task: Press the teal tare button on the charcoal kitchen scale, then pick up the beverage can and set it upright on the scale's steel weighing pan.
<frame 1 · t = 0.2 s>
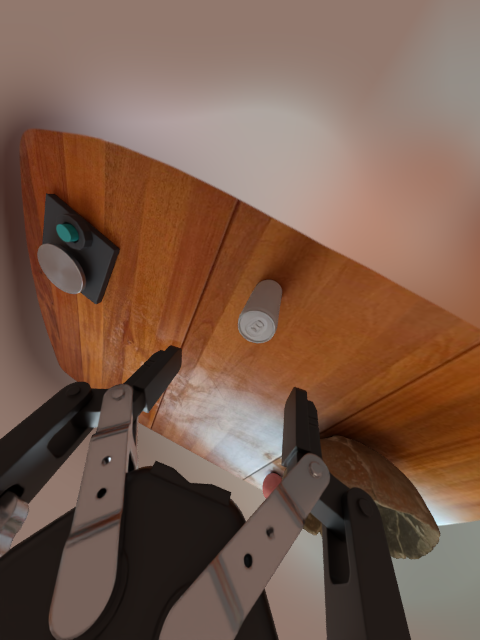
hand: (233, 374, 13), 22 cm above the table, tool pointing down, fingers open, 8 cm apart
tare button: (68, 232, 32), point 3 cm above the table, slide at 0.1 cm
apple: (275, 473, 64), on the table
scale: (81, 255, 38), on the table
scale pan: (78, 265, 40), resting on scale
bowl: (335, 445, 48), on the table
beverage can: (268, 291, 32), on the table
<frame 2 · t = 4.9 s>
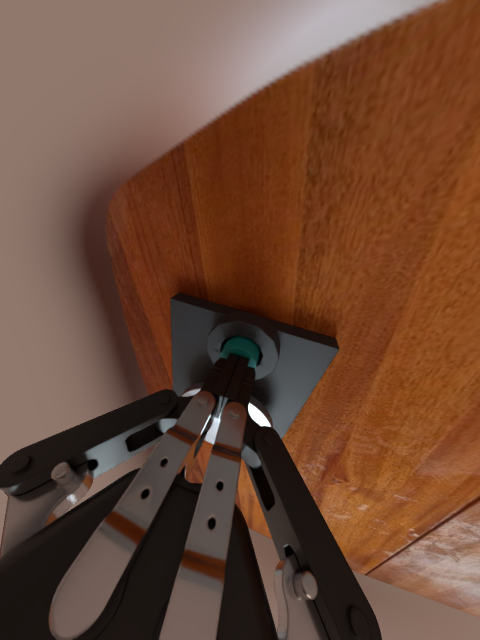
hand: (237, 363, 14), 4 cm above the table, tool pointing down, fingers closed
tare button: (240, 355, 14), point 3 cm above the table, slide at 0.0 cm, touching gripper
scale: (237, 375, 20), on the table
scale pan: (233, 392, 22), resting on scale
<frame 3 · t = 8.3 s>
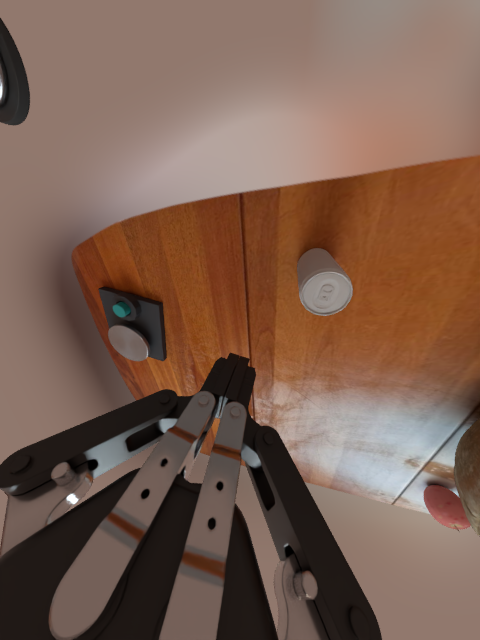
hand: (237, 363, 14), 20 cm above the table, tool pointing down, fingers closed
tare button: (121, 309, 37), point 3 cm above the table, slide at 0.1 cm
apple: (434, 485, 47), on the table
scale: (137, 324, 43), on the table
scale pan: (139, 334, 45), resting on scale
beverage can: (313, 263, 28), on the table
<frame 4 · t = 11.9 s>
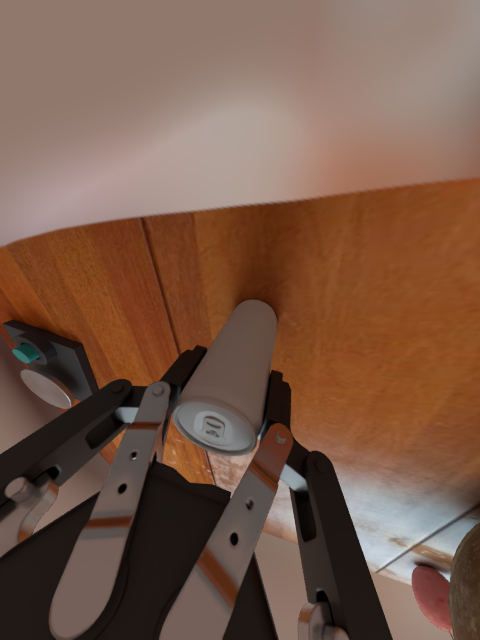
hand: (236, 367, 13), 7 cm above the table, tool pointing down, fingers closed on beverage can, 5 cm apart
tare button: (27, 353, 29), point 3 cm above the table, slide at 0.1 cm
apple: (425, 565, 39), on the table
scale: (62, 364, 35), on the table
scale pan: (67, 375, 37), resting on scale
beverage can: (255, 317, 20), on the table, touching gripper
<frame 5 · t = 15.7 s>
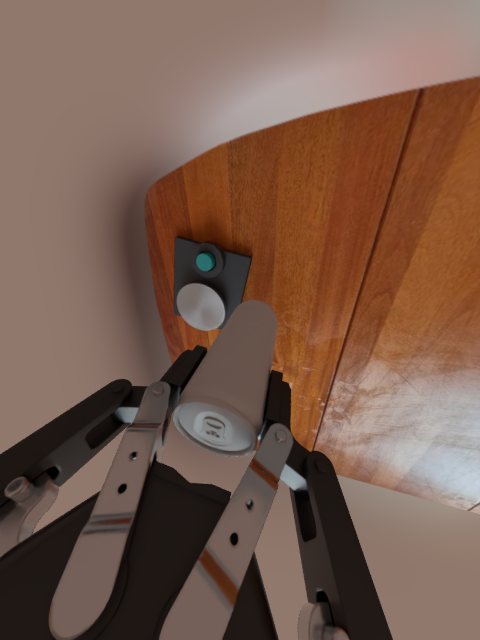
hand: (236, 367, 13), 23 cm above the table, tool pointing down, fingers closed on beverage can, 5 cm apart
tare button: (205, 261, 31), point 3 cm above the table, slide at 0.1 cm
scale: (209, 287, 37), on the table
scale pan: (208, 300, 38), resting on scale
beverage can: (255, 317, 20), point 16 cm above the table, touching gripper
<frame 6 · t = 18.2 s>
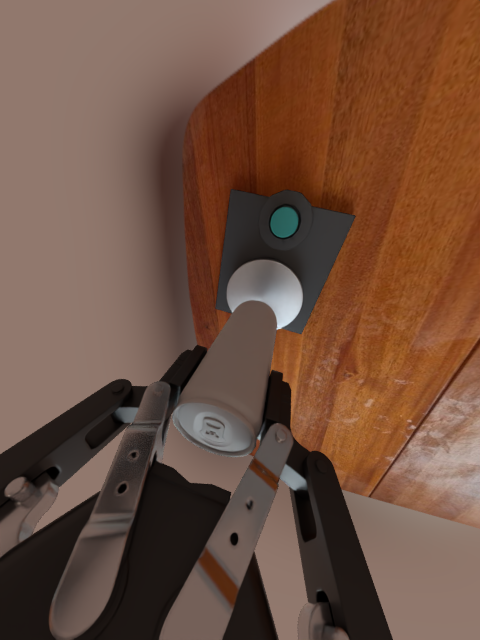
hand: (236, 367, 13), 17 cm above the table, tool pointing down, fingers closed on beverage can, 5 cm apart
tare button: (284, 222, 20), point 3 cm above the table, slide at 0.1 cm
scale: (272, 269, 26), on the table
scale pan: (266, 288, 27), resting on scale
beverage can: (255, 317, 20), point 9 cm above the table, touching gripper
when the fingers open (11 cm above the table, at t = 20.0 s): beverage can stays where it is, resting on scale pan.
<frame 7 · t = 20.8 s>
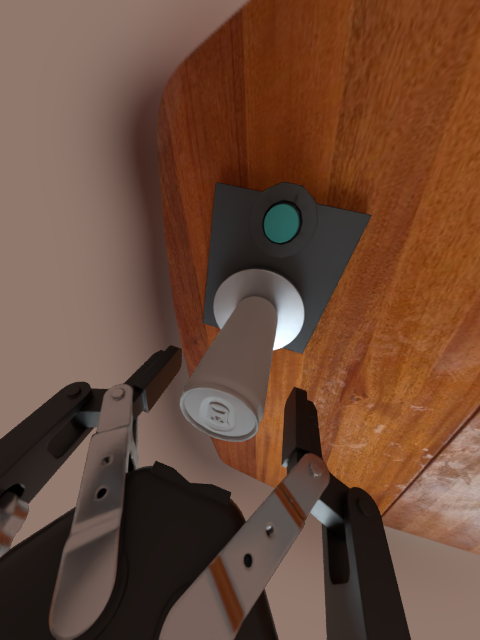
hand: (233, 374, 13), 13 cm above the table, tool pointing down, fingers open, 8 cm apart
tare button: (281, 223, 16), point 3 cm above the table, slide at 0.1 cm
scale: (267, 278, 22), on the table
scale pan: (261, 301, 23), resting on scale
beverage can: (256, 314, 20), point 4 cm above the table, touching scale pan
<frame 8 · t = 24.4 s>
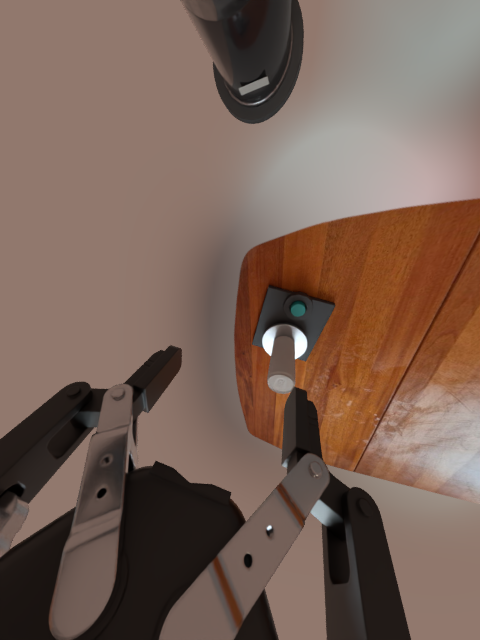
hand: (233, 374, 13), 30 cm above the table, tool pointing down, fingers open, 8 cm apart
tare button: (297, 308, 37), point 3 cm above the table, slide at 0.1 cm
scale: (288, 324, 43), on the table
scale pan: (284, 334, 45), resting on scale
beverage can: (284, 342, 42), point 4 cm above the table, touching scale pan
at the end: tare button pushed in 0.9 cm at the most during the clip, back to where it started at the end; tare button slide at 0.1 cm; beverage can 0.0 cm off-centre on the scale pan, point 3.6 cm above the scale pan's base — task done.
